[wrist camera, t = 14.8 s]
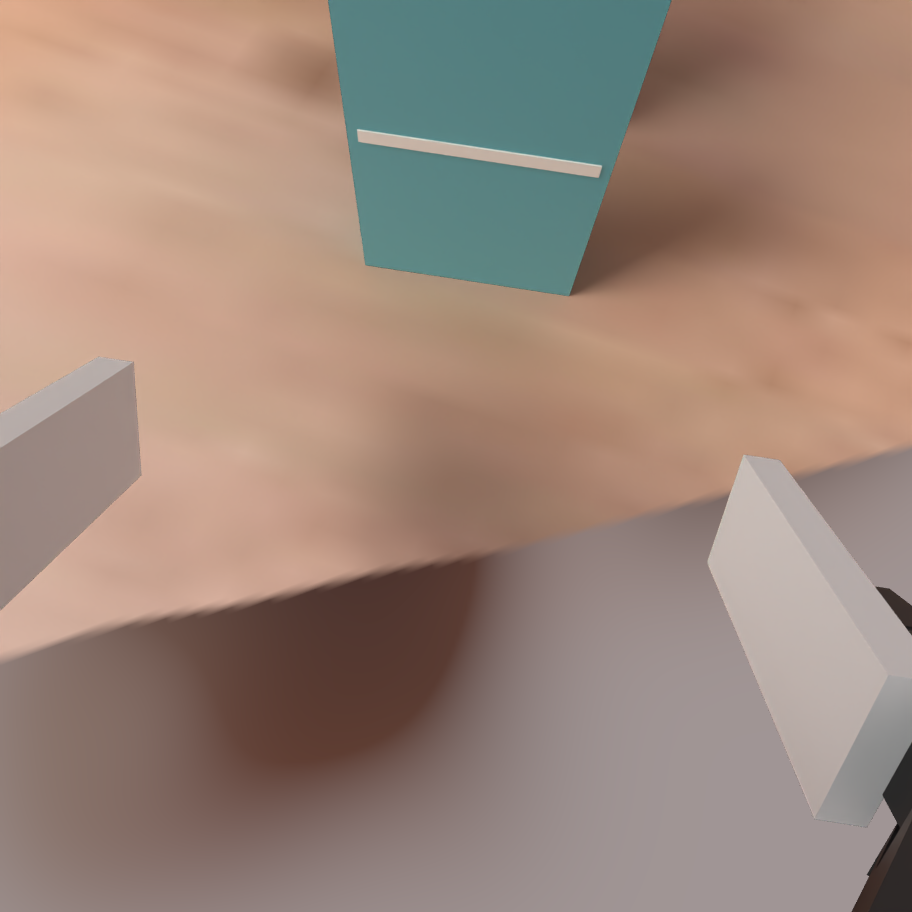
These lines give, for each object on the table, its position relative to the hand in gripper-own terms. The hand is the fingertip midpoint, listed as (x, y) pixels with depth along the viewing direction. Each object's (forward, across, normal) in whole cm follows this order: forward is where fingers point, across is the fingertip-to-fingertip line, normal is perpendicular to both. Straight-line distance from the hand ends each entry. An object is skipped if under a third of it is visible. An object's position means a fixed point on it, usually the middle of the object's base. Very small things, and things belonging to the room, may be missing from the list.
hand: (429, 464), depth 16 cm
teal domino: (+12, 0, +3) cm, 12 cm away
